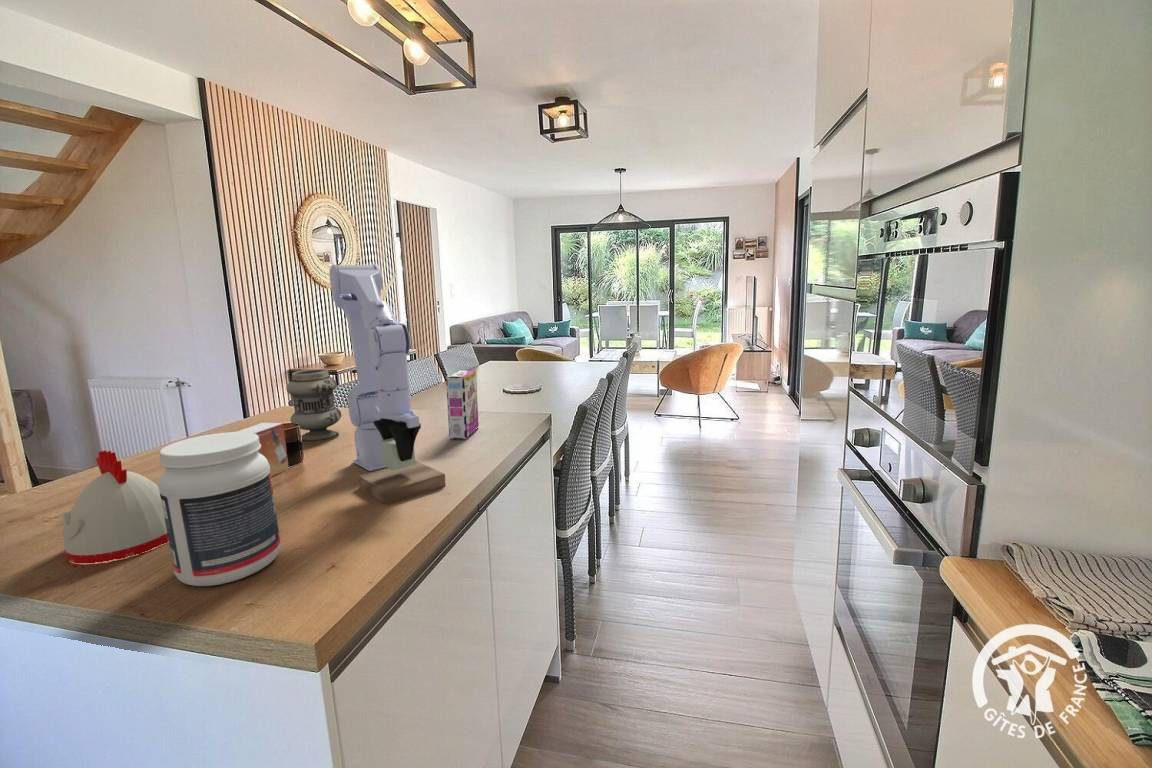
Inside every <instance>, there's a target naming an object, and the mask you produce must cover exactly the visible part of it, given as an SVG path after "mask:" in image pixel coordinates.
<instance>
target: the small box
mask: <svg viewBox="0 0 1152 768" xmlns="http://www.w3.org/2000/svg"><path fill="white" fill-rule="evenodd" d="M235 432H250V433H254V434H257V435H258V436H259V442H260V444H261V448H260V449H259V450H258V452H259V453H260V454H262V455H263V456H264V457H265V458H266V459H267V460H268V463H269V465H270V474H271V478H272V477H273V476H276V475H278V474H280V473H283V472H286V471H288V470H289V461H288V454H287V445H286V439H285V437H286V436H285V429H284V424H283V423H280V422H277V423H276V422H260V423H258V424H255V425H252V426H249V427H247V428H243V429H240V430H235Z"/></svg>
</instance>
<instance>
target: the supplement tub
mask: <svg viewBox="0 0 1152 768" xmlns="http://www.w3.org/2000/svg"><path fill="white" fill-rule="evenodd" d="M260 448H261V444H260V442H259V436H258V435H257V434H254V433H250V432H236V431H232V432H231V431H230V432H220V433H212V434H211V433H210V434H206V435H200V436H195V437H191V438H186V439H182V440H179V441H177V442H173V443H170V444H168V445H165V446H164V447H162V448H161V449H160V451H159V459H160V460H159V465H160V466H161V467H162V468H163V467H164V468H165V470H164V471H163V472H162V473H161V474H160V476H159V479H158V482H157V484H158V485H157V486H158V490H159V492H160V497H161V503H162V508H163V513H164V518H165V523H166V529H167V534H168V539H169V543H168V545H169V550H170V555H171V559H172V565H173V573H174V575H175V577H176V578H177V579H178V581H180V582H181V583H184V584H185V585H189V586H193V587H211V586H218V585H224V584H229V583H231V582H235V581H239V580H241V579H243V578H246V577H248V576H251V575H253V574H255V573H257V572H259V571H261V570H263V569H265V567H268V565H270V564H271V563H272V562H273V561H275V559H276V558H277V556H278V555H279V554H280V551H281V546H282V541H281V537H280V535H281V534H280V529H279V524H278V523H279V522H278V517H277V515H278V514H277V509H276V504H275V503H276V502H275V496H274V489H273V481H272V477H271V474H270V465H269V463H268V460H267V459H266V458H265V457H264V456H263V455H262V454H260V453H259V452H258V450H259V449H260Z"/></svg>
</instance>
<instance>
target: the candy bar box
mask: <svg viewBox="0 0 1152 768" xmlns="http://www.w3.org/2000/svg"><path fill="white" fill-rule="evenodd" d="M477 382H478V381H477V370H473V369H472V370H471V369H470V370H467V369H465V370H459V371H456V372H454V373H451V374H450V375H448V376H446V377H445V384H446V386H445V387H446V401H447V416H448V417H447V420H448V433H449V440H457V439H466V440H468V439H469V438H470V437H471V436H472V435H473V434H474V433H475V432H476V431H477V430H476V428H477V427H478V426H479V412H478V411H479V409H478V407H479V406H478V405H479V404H478V403H479V402H478V386H477V385H478V383H477ZM475 430H476V431H475ZM474 431H475V432H474ZM473 432H474V433H473ZM472 433H473V434H472ZM471 434H472V435H471ZM470 435H471V436H470ZM469 436H470V437H469ZM468 437H469V438H468ZM467 438H468V439H467Z"/></svg>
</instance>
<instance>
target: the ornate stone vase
mask: <svg viewBox="0 0 1152 768" xmlns="http://www.w3.org/2000/svg"><path fill="white" fill-rule="evenodd" d="M337 386H338V384H337V381H336V379H335V378H333V377H332V376H331V375H330V373H329V370H328V369H327V368H312V369H304V370H299V371H294V372H292V373H291V380H290V381H289V382H288V383H287V385H286V392H287V393H288V394H290V396H292V399H293V401H292V402H293V407H294V413H293V414H291V417H290V423H291V424H292V423H297V424H298V425H299V426H300V429H299V430H304V431H308V432H305V433H303V434H302V435H301V436H300V437H302V444H316V443H323V442H327V441H328V442H329V441H330V440H334V439H337V438H338V437H339V436H340V433H339V432H338V431H336V430H333V429H328V428H329V427H331V426H334V425H335V424H337V423H338V422H339V421H340V419H341V418H342V411H341V410H340V409H339V408H338V407H336V405H335V399H334V391H335V390H336V388H337Z"/></svg>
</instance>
